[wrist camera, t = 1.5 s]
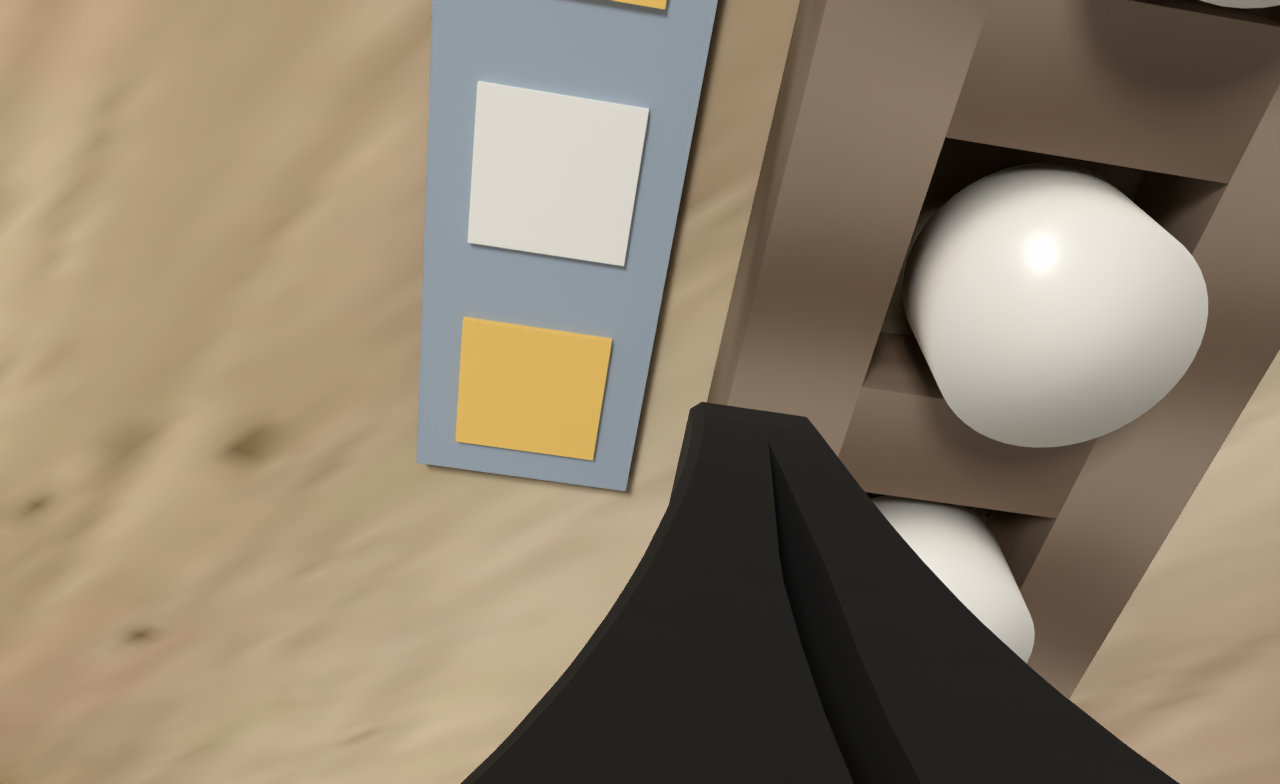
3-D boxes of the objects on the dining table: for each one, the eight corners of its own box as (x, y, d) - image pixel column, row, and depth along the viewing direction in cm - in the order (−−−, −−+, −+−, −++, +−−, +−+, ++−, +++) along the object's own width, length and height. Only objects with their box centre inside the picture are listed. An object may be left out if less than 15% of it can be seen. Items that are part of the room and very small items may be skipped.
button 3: (833, 479, 20) (852, 557, 18) (1027, 506, 21) (1068, 586, 19) (785, 621, 23) (798, 705, 21) (960, 644, 23) (990, 728, 21)
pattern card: (448, -320, 15) (441, -323, 14) (764, -260, 15) (767, -261, 14) (420, 452, 23) (415, 467, 22) (626, 481, 23) (625, 495, 22)
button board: (974, -752, 12) (1041, -871, 10) (1687, -589, 13) (1893, -668, 11) (650, 644, 26) (649, 719, 24) (999, 687, 26) (1029, 765, 24)
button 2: (946, 144, 16) (988, 195, 14) (1184, 183, 17) (1259, 239, 15) (874, 358, 19) (900, 429, 17) (1083, 389, 19) (1137, 463, 17)
